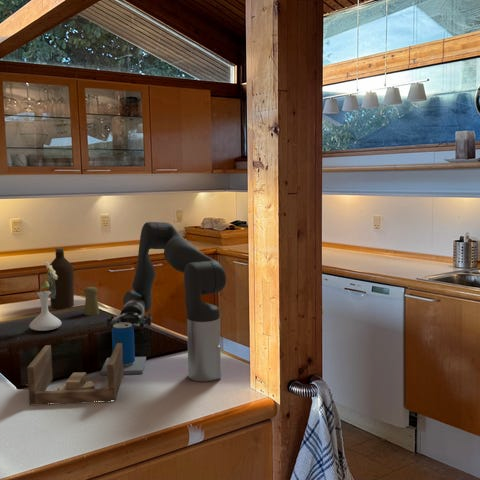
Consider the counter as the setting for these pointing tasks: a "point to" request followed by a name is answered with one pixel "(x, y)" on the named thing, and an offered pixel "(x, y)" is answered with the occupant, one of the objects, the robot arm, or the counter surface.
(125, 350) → the beverage can
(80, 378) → the upper offcut
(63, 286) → the olive oil
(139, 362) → the grey mat
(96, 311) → the cork
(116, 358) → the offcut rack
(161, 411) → the counter surface
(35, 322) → the flower in vase
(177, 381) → the counter surface
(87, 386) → the lower offcut
